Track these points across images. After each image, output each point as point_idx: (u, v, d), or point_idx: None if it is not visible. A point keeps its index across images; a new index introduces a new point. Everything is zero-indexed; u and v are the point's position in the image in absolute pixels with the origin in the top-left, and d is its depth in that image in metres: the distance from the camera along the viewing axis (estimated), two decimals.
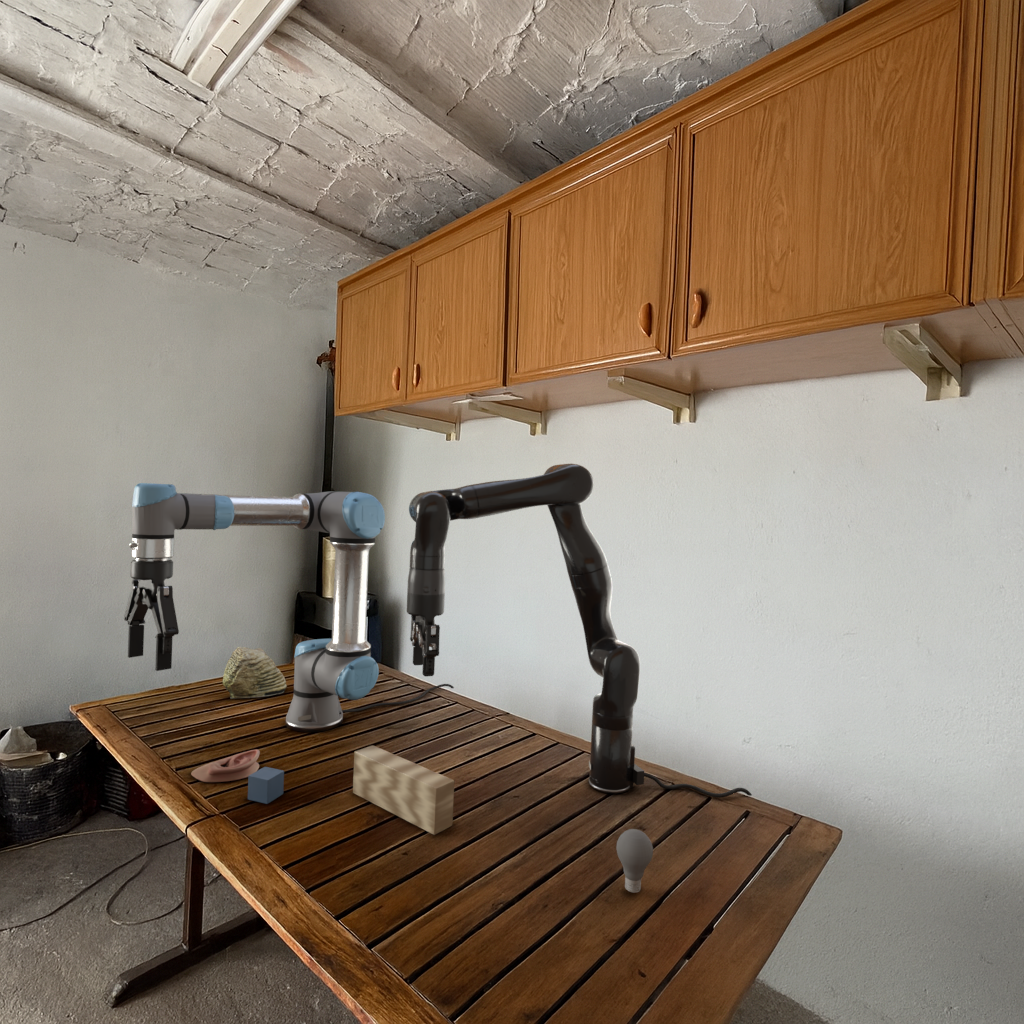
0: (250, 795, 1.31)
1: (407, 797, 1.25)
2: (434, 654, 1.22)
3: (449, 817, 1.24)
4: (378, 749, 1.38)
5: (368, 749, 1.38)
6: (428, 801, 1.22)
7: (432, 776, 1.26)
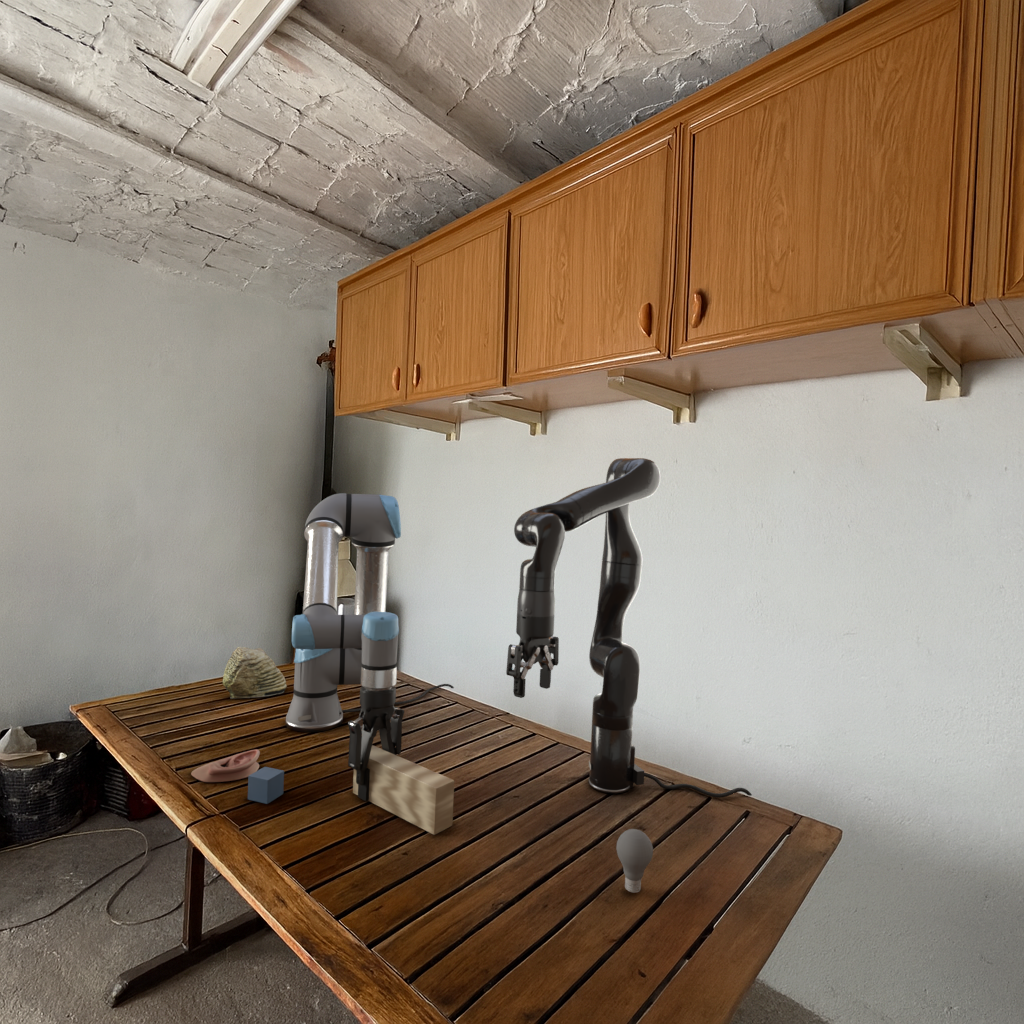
0: (250, 795, 1.31)
1: (407, 797, 1.25)
2: None
3: (449, 817, 1.24)
4: (378, 749, 1.38)
5: None
6: (428, 801, 1.22)
7: (432, 776, 1.26)
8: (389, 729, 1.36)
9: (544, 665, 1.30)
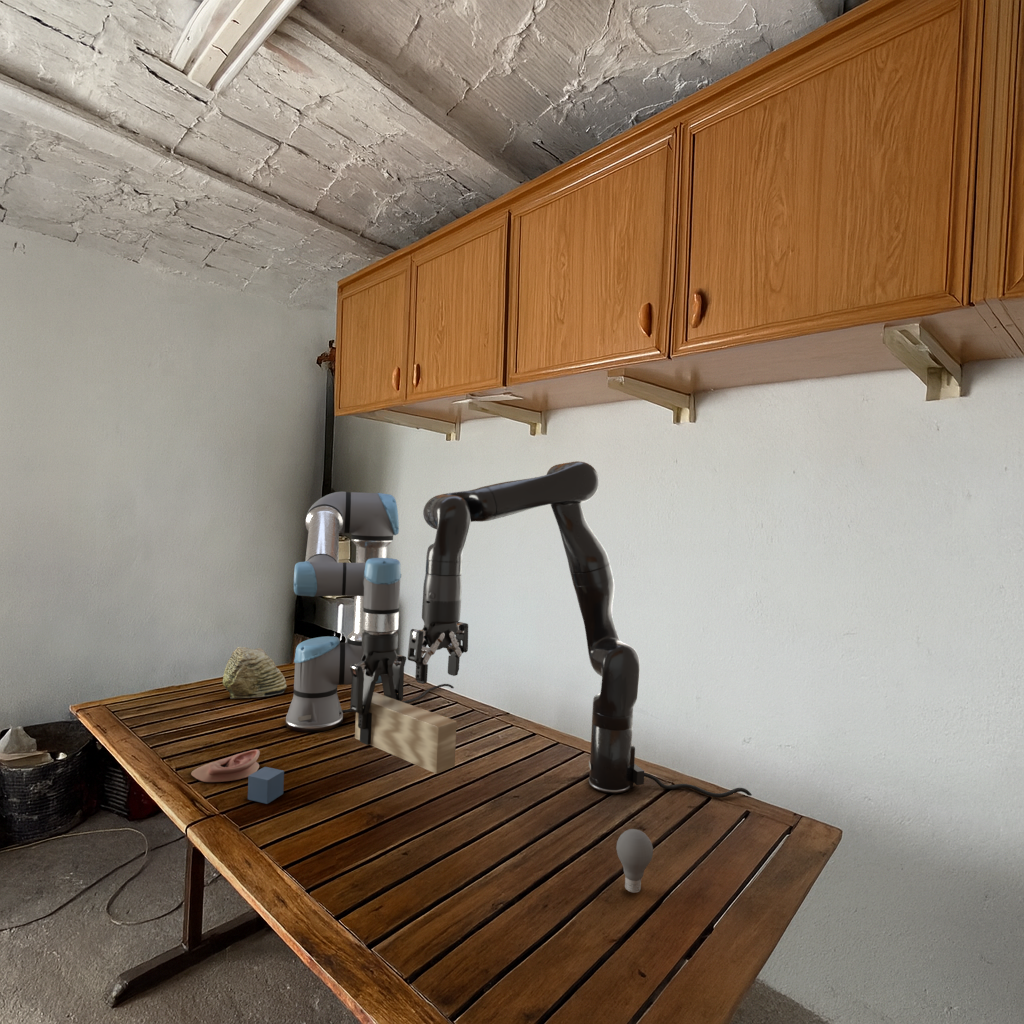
0: (250, 795, 1.31)
1: (409, 738, 1.25)
2: None
3: (451, 757, 1.23)
4: (380, 695, 1.37)
5: None
6: (431, 741, 1.21)
7: (435, 717, 1.25)
8: (391, 674, 1.36)
9: (452, 652, 1.28)
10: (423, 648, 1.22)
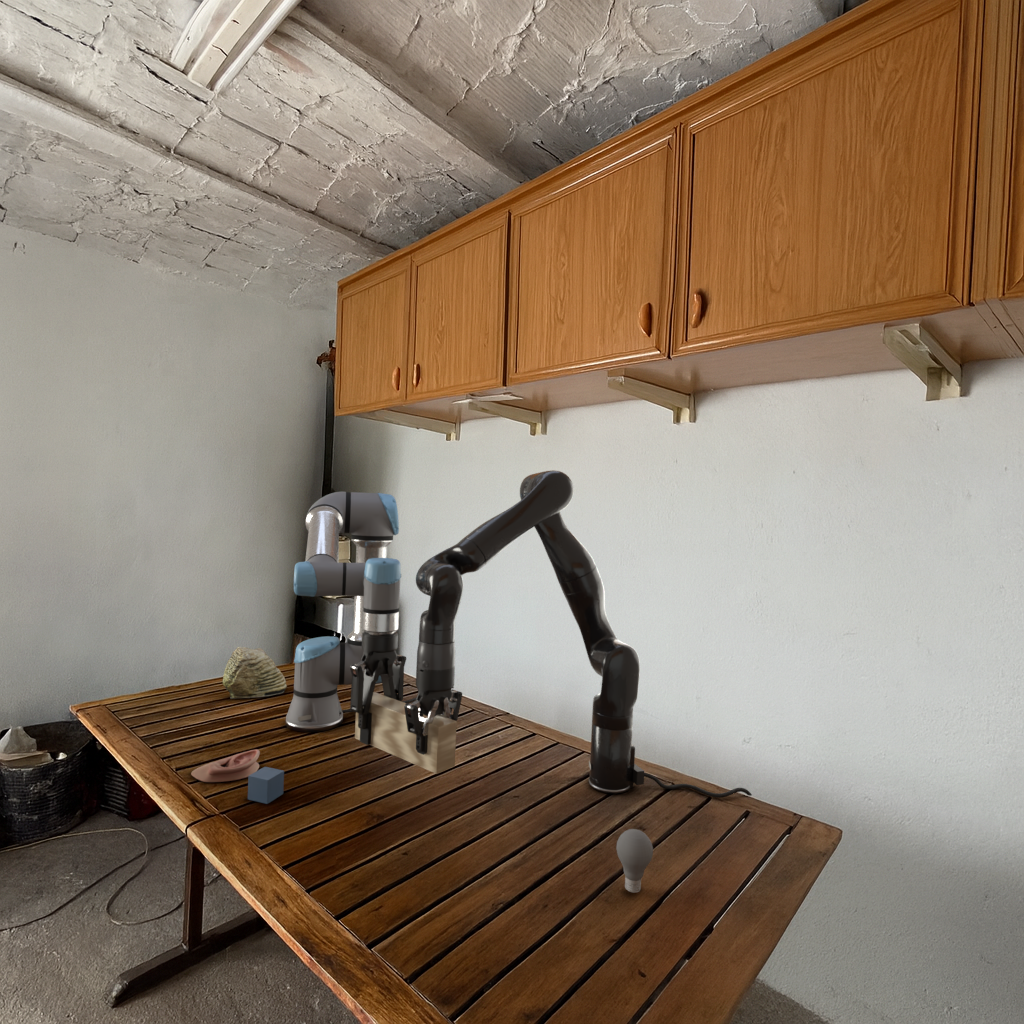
0: (250, 795, 1.31)
1: (409, 738, 1.25)
2: None
3: (451, 757, 1.23)
4: (380, 695, 1.37)
5: None
6: (431, 741, 1.21)
7: (435, 717, 1.25)
8: (391, 674, 1.36)
9: None
10: (420, 719, 1.22)
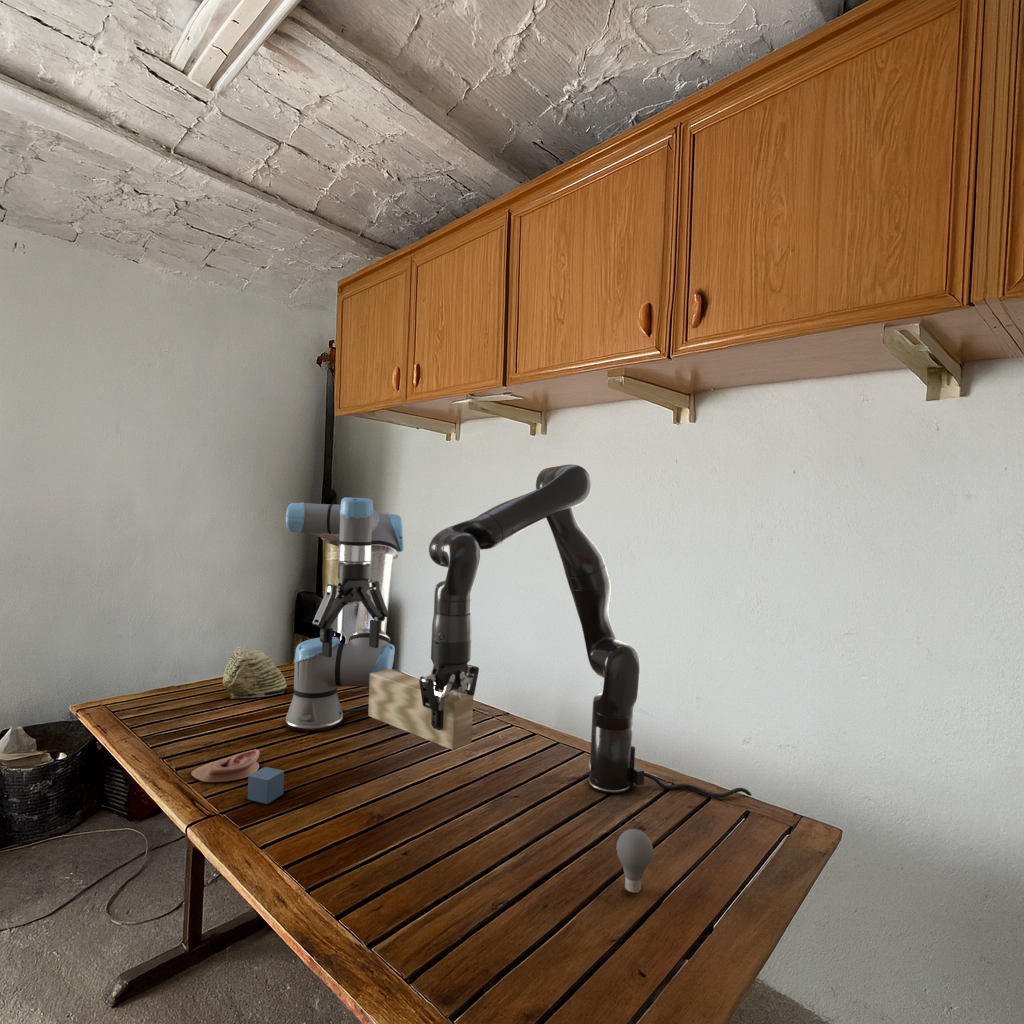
0: (250, 795, 1.31)
1: (424, 714, 1.21)
2: None
3: (468, 733, 1.19)
4: (394, 672, 1.33)
5: (384, 671, 1.33)
6: (446, 716, 1.17)
7: (451, 692, 1.21)
8: (368, 599, 1.52)
9: None
10: (436, 693, 1.18)
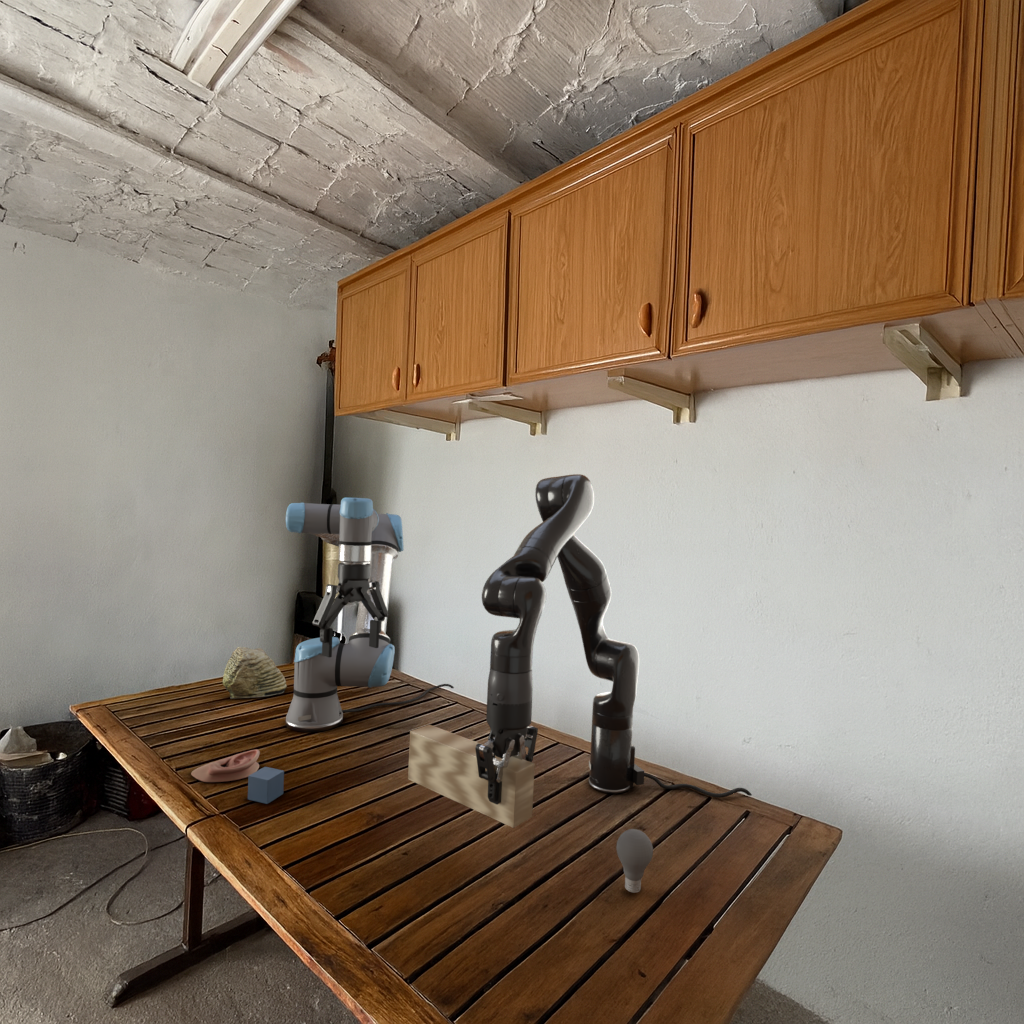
0: (250, 795, 1.31)
1: (477, 783, 1.06)
2: None
3: (529, 806, 1.04)
4: (437, 729, 1.18)
5: (425, 728, 1.18)
6: (506, 788, 1.02)
7: None
8: (368, 599, 1.52)
9: None
10: (493, 761, 1.03)
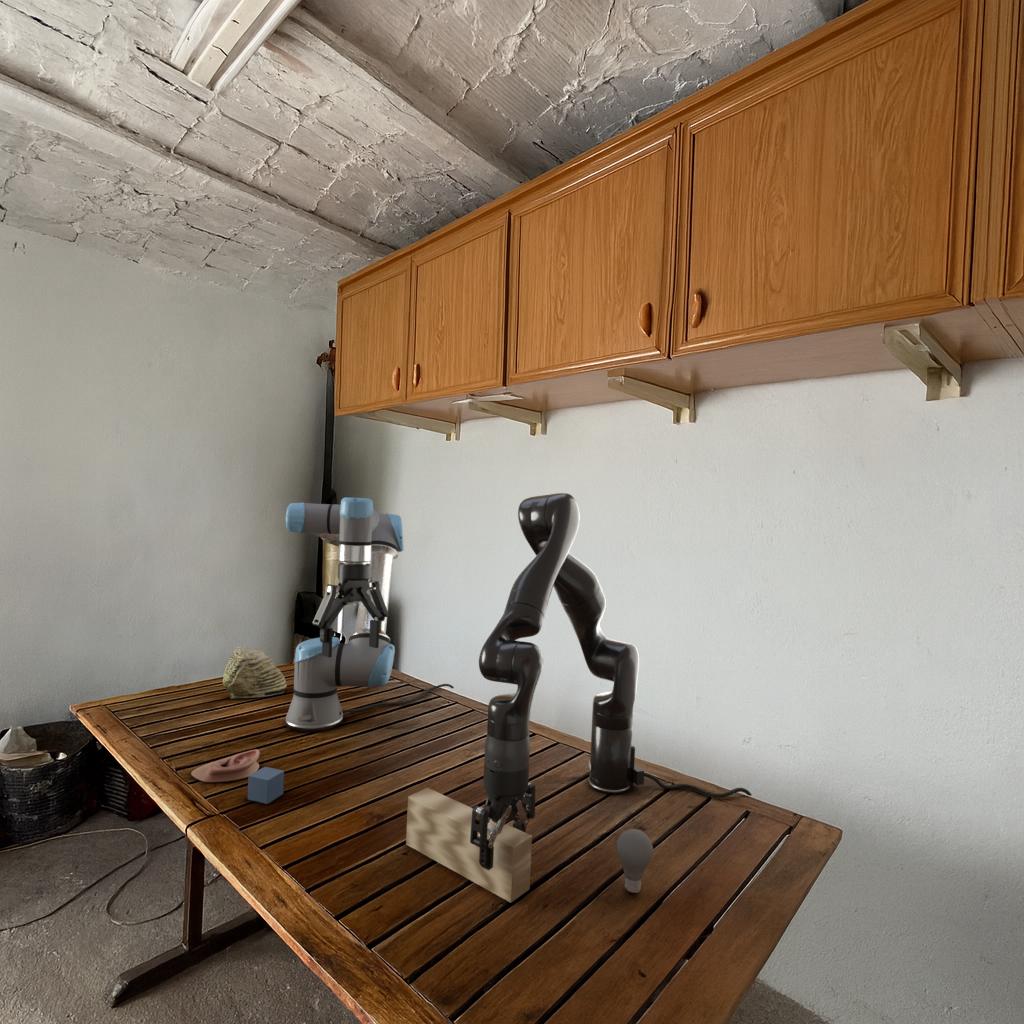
0: (250, 795, 1.31)
1: (475, 855, 1.06)
2: None
3: (526, 879, 1.04)
4: (435, 793, 1.18)
5: (423, 793, 1.18)
6: (503, 862, 1.02)
7: (505, 830, 1.06)
8: (368, 599, 1.52)
9: (517, 820, 1.09)
10: (487, 826, 1.03)
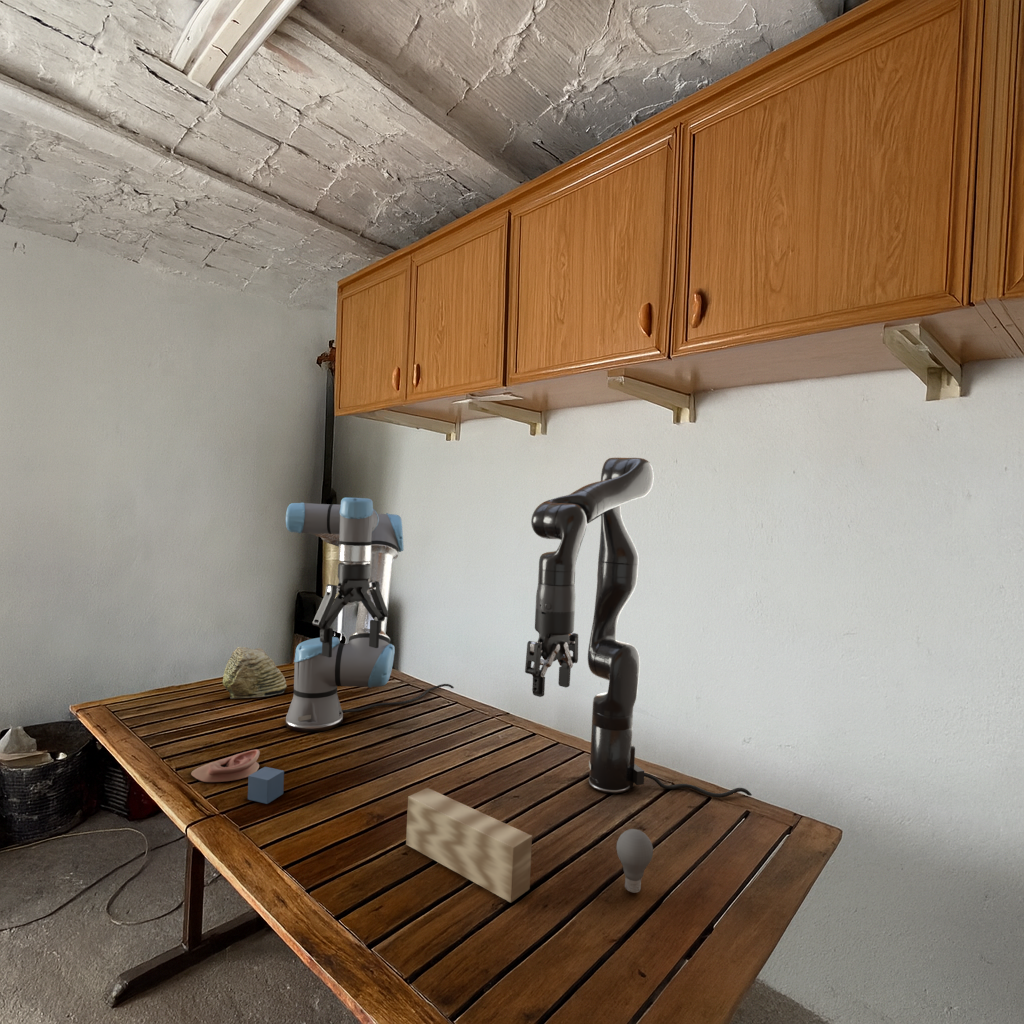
0: (250, 795, 1.31)
1: (475, 855, 1.06)
2: None
3: (526, 879, 1.04)
4: (435, 793, 1.18)
5: (423, 793, 1.18)
6: (503, 862, 1.02)
7: (505, 830, 1.06)
8: (368, 599, 1.52)
9: (563, 663, 1.25)
10: None
